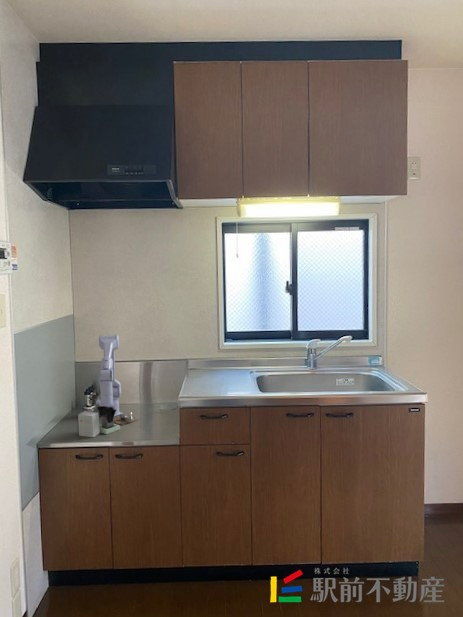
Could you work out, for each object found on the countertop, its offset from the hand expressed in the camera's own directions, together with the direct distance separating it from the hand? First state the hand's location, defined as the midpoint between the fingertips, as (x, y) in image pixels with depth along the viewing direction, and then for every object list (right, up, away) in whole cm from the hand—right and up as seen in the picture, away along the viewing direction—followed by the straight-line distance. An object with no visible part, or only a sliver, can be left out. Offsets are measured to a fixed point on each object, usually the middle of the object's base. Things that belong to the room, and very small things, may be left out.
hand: (107, 421), depth 248 cm
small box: (-7, -6, -5) cm, 11 cm away
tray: (0, -5, +1) cm, 5 cm away
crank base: (+4, -3, +15) cm, 16 cm away
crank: (+7, -2, +14) cm, 15 cm away
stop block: (0, -3, 0) cm, 3 cm away
